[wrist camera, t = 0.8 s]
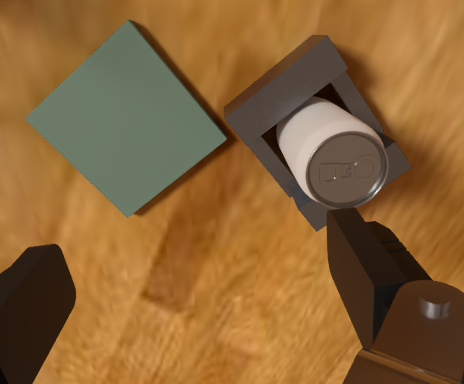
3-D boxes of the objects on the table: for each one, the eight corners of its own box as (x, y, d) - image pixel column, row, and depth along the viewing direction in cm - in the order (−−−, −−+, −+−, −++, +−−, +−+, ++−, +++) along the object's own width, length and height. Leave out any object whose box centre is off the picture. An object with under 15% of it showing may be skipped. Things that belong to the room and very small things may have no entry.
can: (342, 157, 37) (393, 209, 26) (277, 165, 37) (302, 221, 26) (341, 91, 35) (397, 118, 24) (272, 100, 35) (296, 132, 24)
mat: (131, 20, 32) (127, 19, 31) (226, 135, 36) (227, 139, 35) (30, 116, 35) (24, 118, 34) (130, 212, 39) (127, 218, 38)
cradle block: (315, 32, 33) (330, 32, 28) (390, 149, 37) (415, 165, 32) (221, 109, 35) (221, 120, 30) (303, 210, 39) (313, 233, 35)
